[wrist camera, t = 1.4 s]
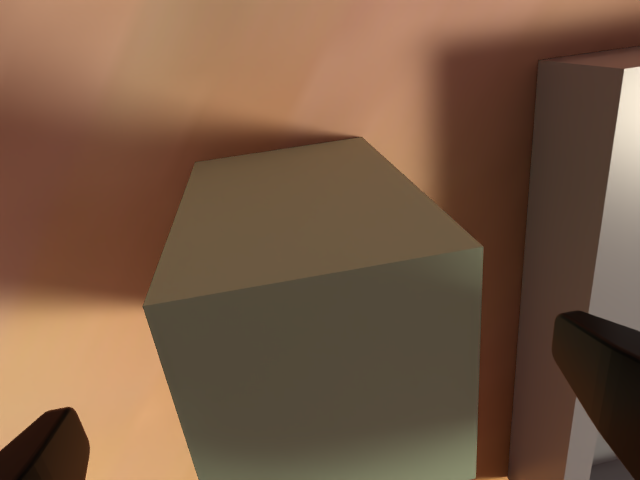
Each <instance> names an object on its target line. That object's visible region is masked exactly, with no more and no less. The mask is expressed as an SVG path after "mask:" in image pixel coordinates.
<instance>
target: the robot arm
mask: <svg viewBox="0 0 640 480" xmlns="http://www.w3.org/2000/svg"><path fill="white" fill-rule="evenodd" d="M551 350H552V356H553V358H554V361H555V363H556V364H557V366H558V367H559V369H560V371H561V372H562V374H563V376H564V377H565V379H566V380H567V382H568V384H569V385H570V387H571V389H572V390H573V392H574V394H575V395H576V397H577V398H578V400H579V402H580V403H581V405H582V407H583V408H584V410H585V411H586V413H587V415H588V416H589V418H590V420H591V421H592V423H593V424H594V426H595V427H596V429H597V430H598V432H599V433H600V434H601V436H602V437H603V439H604V440H605V441H606V443H607V444H608V445H609V447H610V448H611V449H612V451H613V452H614V453H615V455H616V456H617V457H618V459H619V460H620V461H621V462H622V464H623V465H624V466H625V468H626V469H627V470H628V472H629V473H630V474H631V476H632V477H633V478H634V480H640V331H638V330H635V329H632V328H630V327H627V326H624V325H621V324H618V323H615V322H612V321H609V320H606V319H603V318H600V317H598V316H595V315H592V314H589V313H586V312H583V311H580V310H574V311H569V312H564V313H560V314H558V315H557V316H556V317H555V320H554V328H553V337H552V346H551ZM89 454H90V446H89V440H88V438H87V435H86V433H85V431H84V429H83V426H82V424H81V422H80V419H79V417H78V415H77V413H76V411H75V410H74V409H73V408H71V407H65V408H59V409H54V410H50V411H47V412H45V413H44V414H43V415H41V416H40V417H39V418H38V419H37V420H36V421H34V422H33V423H32V424H31V425H30V426H29V427H27V428H26V429H25V430H24V431H23V432H22V433H20V434H19V435H18V436H17V437H16V438H15V439H14V440H12V441H11V442H10V443H9V444H8V445H7V446H5V447H4V448H3V449H2V450H1V451H0V480H85V478H86V472H87V466H88V460H89Z"/></svg>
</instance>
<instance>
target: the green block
mask: <svg viewBox="0 0 640 480" xmlns="http://www.w3.org/2000/svg"><path fill="white" fill-rule="evenodd" d="M482 276H483V246H482V245H481V244H480V243H479V242H478V241H477V240H476V239H474V238H473V237H472V236H471V235H470V234H469V233H468V232H467V231H466V230H465V229H463V228H462V227H461V226H460V225H459V224H458V223H457V222H456V221H455V220H453V219H452V218H451V217H450V216H449V215H448V214H447V213H446V212H445V211H443V210H442V209H441V208H440V207H439V206H438V205H437V204H436V203H435V202H433V201H432V200H431V199H430V198H429V197H428V196H427V195H426V194H425V193H423V192H422V191H421V190H420V189H419V188H418V187H417V186H416V185H415V184H413V183H412V182H411V181H410V180H409V179H408V178H407V177H406V176H405V175H404V174H402V173H401V172H400V171H399V170H398V169H397V168H396V167H395V166H394V165H392V164H391V163H390V162H389V161H388V160H387V159H386V158H385V157H384V156H382V155H381V154H380V153H379V152H378V151H377V150H376V149H375V148H374V147H372V146H371V145H370V144H369V143H368V142H367V141H366V140H365V139H364V138H362V137H358V138H351V139H345V140H338V141H332V142H325V143H318V144H312V145H305V146H298V147H292V148H285V149H279V150H272V151H265V152H259V153H252V154H245V155H239V156H232V157H225V158H219V159H212V160H206V161H199V162H195V164H194V167H193V169H192V172H191V175H190V178H189V180H188V183H187V186H186V189H185V191H184V194H183V197H182V200H181V202H180V205H179V208H178V211H177V213H176V216H175V219H174V222H173V224H172V227H171V230H170V233H169V235H168V238H167V241H166V243H165V246H164V249H163V252H162V254H161V257H160V260H159V263H158V265H157V268H156V271H155V274H154V276H153V279H152V282H151V285H150V287H149V290H148V293H147V296H146V298H145V301H144V304H143V309H144V312H145V315H146V318H147V321H148V324H149V327H150V331H151V334H152V337H153V340H154V343H155V346H156V349H157V352H158V355H159V358H160V361H161V365H162V368H163V371H164V374H165V377H166V380H167V383H168V386H169V389H170V392H171V396H172V399H173V402H174V405H175V408H176V411H177V414H178V417H179V420H180V423H181V427H182V430H183V433H184V436H185V439H186V442H187V445H188V448H189V451H190V454H191V457H192V461H193V464H194V467H195V470H196V473H197V476H198V479H199V480H471V479H475V478H476V459H477V428H478V398H479V367H480V337H481V307H482Z"/></svg>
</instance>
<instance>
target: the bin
mask: <svg viewBox="0 0 640 480" xmlns="http://www.w3.org/2000/svg"><path fill="white" fill-rule="evenodd" d="M574 310H580V311H583V312H586V313H589V314H592V315H595V316H598V317H600V318H603V319H606V320H609V321H612V322H615V323H618V324H621V325H624V326H627V327H630V328H632V329H635V330H638V331H640V46H635V47H628V48H621V49H613V50H606V51H599V52H592V53H585V54H578V55H571V56H564V57H557V58H550V59H543V60H539V61H538V74H537V88H536V101H535V115H534V128H533V142H532V155H531V169H530V182H529V196H528V209H527V223H526V236H525V250H524V263H523V277H522V290H521V304H520V317H519V331H518V344H517V358H516V371H515V384H514V398H513V411H512V425H511V438H510V452H509V465H508V479H509V480H634V478H633V477H632V476H631V474H630V473H629V472H628V470H627V469H626V468H625V466H624V465H623V464H622V462H621V461H620V460H619V459H618V457H617V456H616V455H615V453H614V452H613V451H612V449H611V448H610V447H609V445H608V444H607V443H606V441H605V440H604V439H603V437H602V436H601V434H600V433H599V432H598V430H597V429H596V427H595V426H594V424H593V423H592V421H591V420H590V418H589V416H588V415H587V413H586V411H585V410H584V408H583V407H582V405H581V403H580V402H579V400H578V398H577V397H576V395H575V394H574V392H573V390H572V389H571V387H570V385H569V384H568V382H567V380H566V379H565V377H564V376H563V374H562V372H561V371H560V369H559V367H558V366H557V364H556V363H555V361H554V358H553V356H552V350H551V346H552V337H553V328H554V320H555V317H556V316H557V315H558V314H560V313H564V312H569V311H574Z"/></svg>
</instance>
